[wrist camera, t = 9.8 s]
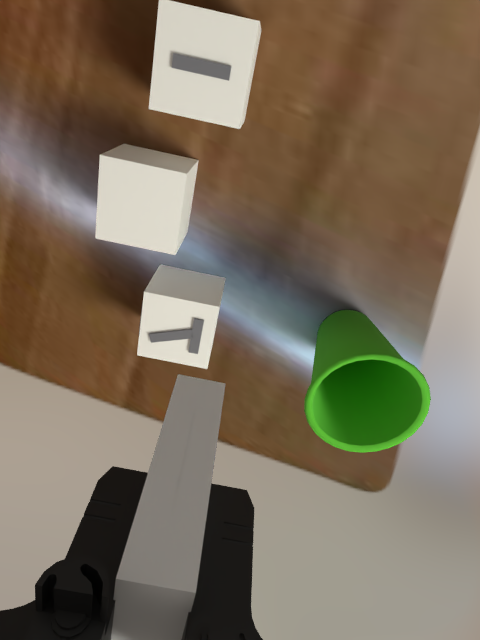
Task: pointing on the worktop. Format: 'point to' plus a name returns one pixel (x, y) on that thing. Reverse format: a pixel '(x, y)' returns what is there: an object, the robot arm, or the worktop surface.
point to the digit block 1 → (203, 63)
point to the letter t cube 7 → (180, 316)
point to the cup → (362, 387)
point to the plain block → (144, 198)
